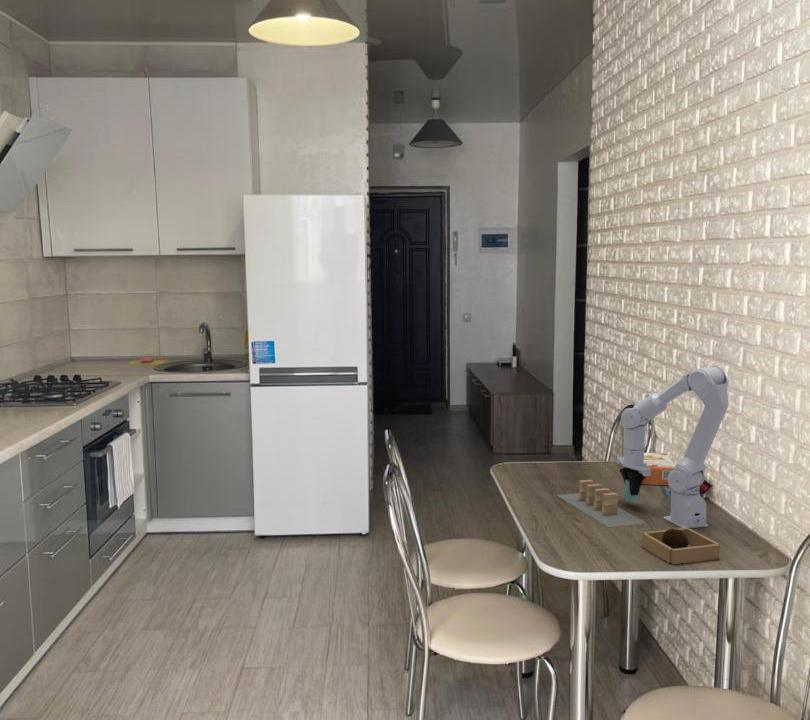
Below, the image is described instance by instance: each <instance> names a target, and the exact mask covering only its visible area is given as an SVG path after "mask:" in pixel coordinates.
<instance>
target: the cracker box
mask: <svg viewBox="0 0 810 720" xmlns="http://www.w3.org/2000/svg"><path fill="white" fill-rule="evenodd" d="M644 462H646V463H647V465H646V466H647V467H648V468H649V469H651V476H646V477H645V478H644V480H643V482H642V484H641V485H653V486H654V485H655V486H669V485H668V481H667V478H668V475H669V473H670V472H671V471H672V470H674V469H675V467H676V465H675V463H674V461H672V459H671V458H670V456H669V455H668V453H664V452H662V453H661V452H658V453H657V452H644Z"/></svg>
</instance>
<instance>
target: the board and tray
mask: <svg viewBox="0 0 810 720" xmlns="http://www.w3.org/2000/svg"><path fill="white" fill-rule="evenodd" d="M556 496H557V497H558V498H560V499H562V500H564V502H567V503H568V504H570V505H571V506H573V507H575V508H576V509H578V510H580V511H581V512H583V513H584V514H586V515H587V516H589V517H591V518H593V519H595V520H596V521H598V522H599V523H601V524H602V525H604V526H606V528H607V527H608V528H616V527H626V526H635V525H644V524H645V525H646V524H647V522H646V521H644V520H642V519H641V518H639V517H637V516H635V515H633V514H632V513H630V512H628V511H626V510H624V509H622V508H621V507H619V506H618V508H617V515H608V516H604V515H603V514H602V510H601V511H596V510H594V506H587V505H586V501H582V502H581V501H579V500H578V492H577V493H576V492H575V493H567V494H566V493H565V494H557V495H556ZM677 529H678V530H680V531H682V532H683V533H684V534H685V535H686V537H687V539H688V545H691V546H688V547H685V548H677V549H672V548H671V547H669V546H667V545H666V544H664V543H663V542H662V537H663V534H664V533H665V532H666V531H667V530H668V529H661V530H653V531H651V530H650V531H643V532H642V538H641V540H642V541H641V546H642V548H643V549H645V550H646V551H648V552H650V553H651V554H653V555H654V556H656V557H658V558H660V559H661V560H663V561H664V560H665V561H664V562H666V561H667V563H668V564H671V563H672V565H673V564H675V565H682V564H681V563H683V564H689V563H690V564H691V563H698V562H704V561H705V562H706V561H714V560H720V550H721V547H720V546H721V544H720V543H719V542H717V541H715V540H714V539H711V538H709V537H707V536H705V535H704V534H701V532H700V533H699V532H697V531H696V530H694V529H693V528H681V527H679V528H678V527H677Z"/></svg>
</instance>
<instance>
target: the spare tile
mask: <svg viewBox="0 0 810 720" xmlns="http://www.w3.org/2000/svg"><path fill="white" fill-rule="evenodd" d="M640 499H641V489H640V490H639V493H638V495H633V496H632V495H631V493H630V483H629V480H625V483H624V501H626V502H633V501H634V502H635V501H640Z"/></svg>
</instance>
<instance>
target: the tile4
mask: <svg viewBox="0 0 810 720" xmlns="http://www.w3.org/2000/svg"><path fill="white" fill-rule="evenodd" d="M601 488H602V484H599V483H593V484H590V485H586V505H587V506H594V489H601Z"/></svg>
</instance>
